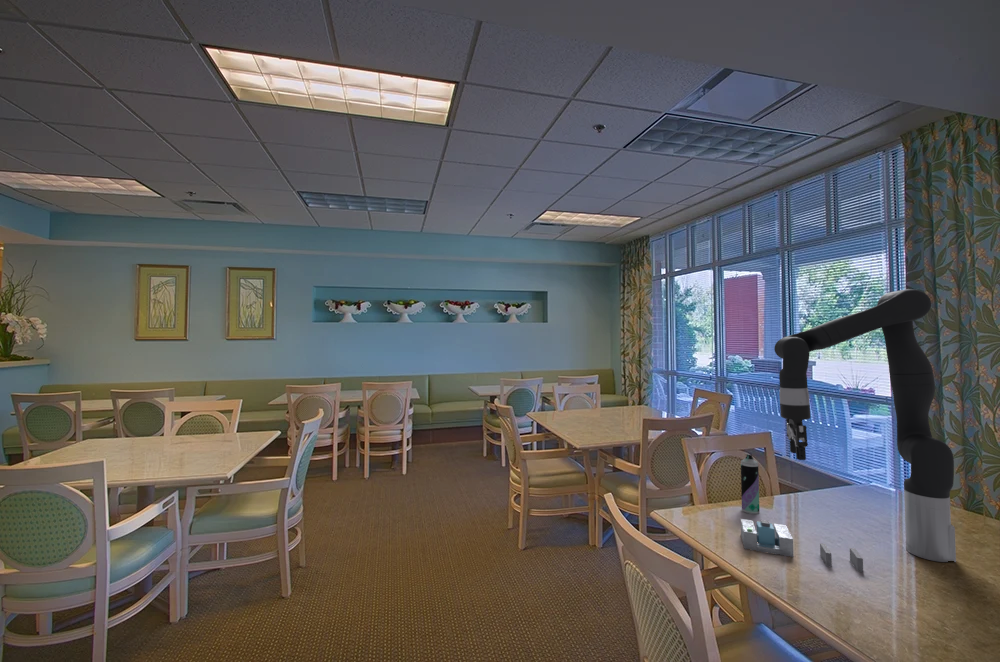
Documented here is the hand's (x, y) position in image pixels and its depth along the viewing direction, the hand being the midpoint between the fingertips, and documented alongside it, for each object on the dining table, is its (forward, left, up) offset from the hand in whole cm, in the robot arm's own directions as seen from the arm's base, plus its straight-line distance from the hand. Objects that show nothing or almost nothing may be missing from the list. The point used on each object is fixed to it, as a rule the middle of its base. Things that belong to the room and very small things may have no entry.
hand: (797, 456), depth 130 cm
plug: (+10, +7, -26) cm, 28 cm away
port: (+10, +7, -26) cm, 28 cm away
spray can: (+11, -21, -26) cm, 35 cm away
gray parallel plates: (-7, +11, -26) cm, 29 cm away
